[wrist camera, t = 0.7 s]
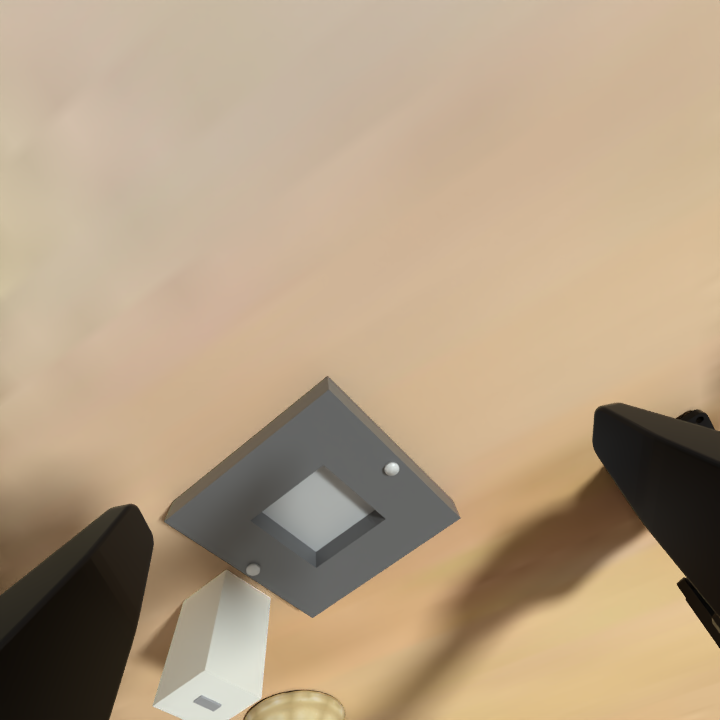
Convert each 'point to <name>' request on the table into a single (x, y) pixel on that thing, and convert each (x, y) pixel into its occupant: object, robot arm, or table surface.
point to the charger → (216, 652)
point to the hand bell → (298, 707)
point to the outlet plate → (314, 503)
